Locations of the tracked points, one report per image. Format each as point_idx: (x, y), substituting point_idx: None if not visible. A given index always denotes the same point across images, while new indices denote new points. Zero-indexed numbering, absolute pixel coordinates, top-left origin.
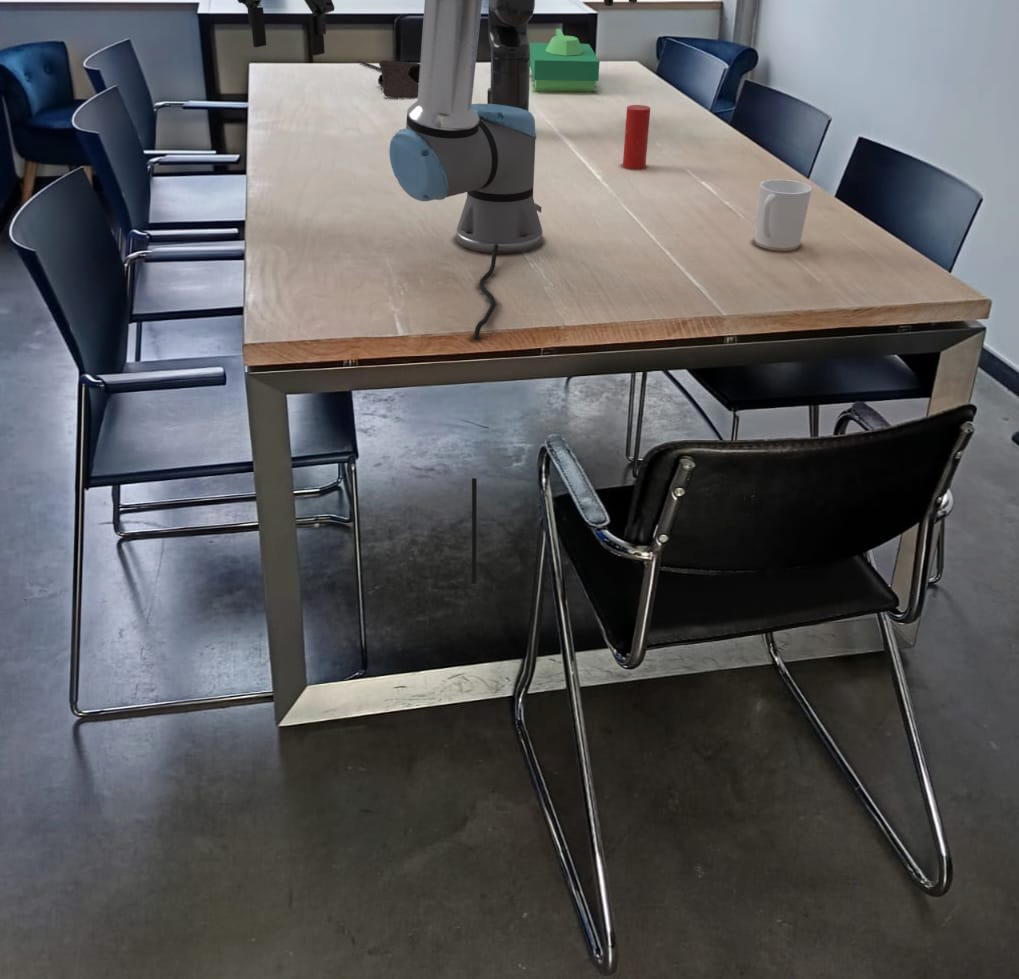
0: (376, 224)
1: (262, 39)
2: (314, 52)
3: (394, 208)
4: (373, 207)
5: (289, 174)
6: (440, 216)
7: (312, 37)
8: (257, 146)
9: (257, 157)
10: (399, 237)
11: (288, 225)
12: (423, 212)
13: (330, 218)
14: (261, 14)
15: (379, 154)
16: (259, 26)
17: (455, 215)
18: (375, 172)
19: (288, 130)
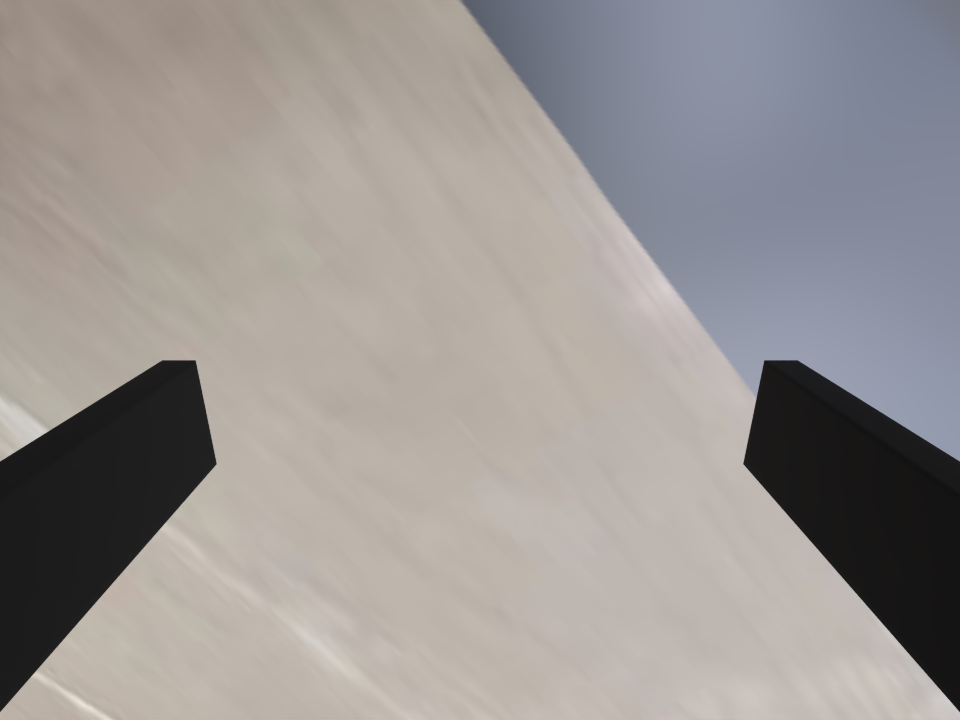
0: (178, 184)
1: (775, 454)
2: (155, 368)
3: (241, 318)
4: (286, 297)
5: (644, 402)
6: (111, 327)
7: (85, 421)
8: None
9: None
10: (52, 126)
11: (354, 30)
12: (165, 331)
13: (307, 155)
14: (924, 627)
15: (554, 622)
16: (849, 497)
17: (92, 353)
18: (473, 517)
19: (854, 664)
